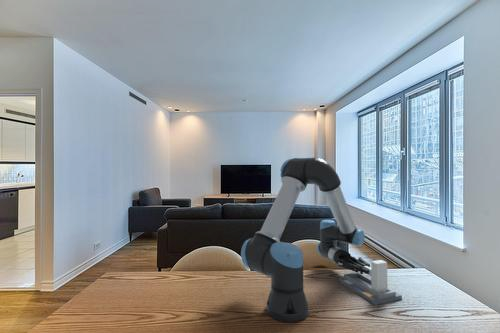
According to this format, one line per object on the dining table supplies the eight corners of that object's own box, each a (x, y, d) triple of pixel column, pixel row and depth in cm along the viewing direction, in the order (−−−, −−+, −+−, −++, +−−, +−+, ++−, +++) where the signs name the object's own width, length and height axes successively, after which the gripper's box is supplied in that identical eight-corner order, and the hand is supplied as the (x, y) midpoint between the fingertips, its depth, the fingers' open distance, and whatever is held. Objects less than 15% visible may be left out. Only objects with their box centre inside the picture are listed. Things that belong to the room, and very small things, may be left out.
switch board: (338, 281, 123) (338, 274, 123) (362, 277, 127) (362, 271, 127) (374, 304, 102) (374, 296, 102) (401, 299, 106) (401, 291, 106)
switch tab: (371, 291, 109) (371, 261, 109) (381, 289, 111) (381, 259, 111) (377, 294, 106) (376, 263, 106) (387, 292, 108) (387, 262, 108)
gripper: (351, 262, 135) (389, 281, 112) (328, 266, 131) (363, 286, 108) (350, 247, 135) (389, 263, 112) (328, 250, 131) (363, 267, 108)
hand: (376, 274), depth 110 cm, fingers closed
